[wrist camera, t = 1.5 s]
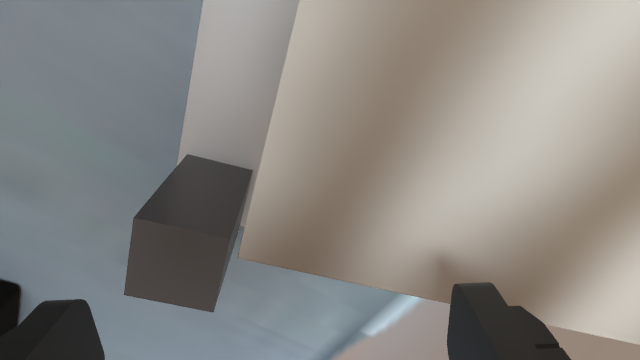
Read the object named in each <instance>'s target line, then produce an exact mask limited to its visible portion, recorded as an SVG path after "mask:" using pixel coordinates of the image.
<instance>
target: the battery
mask: <svg viewBox="0 0 640 360" xmlns="http://www.w3.org/2000/svg"><path fill="white" fill-rule="evenodd" d="M18 298H19V289H18V287H17V286H15V285H11V284H7V283H3V282H0V337H1V336H2V335H4V334H5V333H7V332H8V331H10V330H11V329H13V328H14V327H16V321H17V309H18Z"/></svg>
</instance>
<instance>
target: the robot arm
mask: <svg viewBox="0 0 640 360" xmlns="http://www.w3.org/2000/svg"><path fill="white" fill-rule="evenodd" d="M447 347H448V355H449V360H571V359H570V358H569V356H568V355H567V354H566V352H565V351H564V350H563V349H562V348H560V347H559V343H558V342H557V340H556V339H555V338H554V336H553V335H552V334H551V333H550V331H549V330H548V329H547V327H546V326H545V324H544V323H543V322H542V321H540V320H539V319H538V318H536V317H535V316H534V315H532V314H531V313H530V312H528V311H527V310H525V309H524V308H523V307H521V306H508V305H507V303H506V302H505V300H504V299H503V297H502V296H501V294H500V293H499V291H498V290H497V289H496V287H495V286H494V285H493V284H492V283H491V282H481V283H459V284H454V286H453V289H452V295H451V305H450V315H449V325H448V335H447ZM0 360H105V357H104V351H103V348H102V345H101V342H100V338H99V335H98V332H97V329H96V326H95V323H94V320H93V316H92V313H91V310H90V307H89V305H88V303H87V302H86V301H85V300H82V299H76V300H54V301H44V302H42V303H41V304H39V305H38V306H37V307H36V308H35V309H34V310H33V311H32V312H31V313H30V314H29V315H28V317H27V318H26V319H25V320H24V321H23V322H22V323H21V324H20V325H19V326H18V327H14V328H13V329H11V330H10V331H8V332H7V333H5V334H4V335H2V336H1V337H0Z"/></svg>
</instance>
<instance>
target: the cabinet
mask: <svg viewBox="0 0 640 360" xmlns="http://www.w3.org/2000/svg"><path fill="white" fill-rule="evenodd" d="M238 258H239V259H244V260H249V261H253V262H258V263H263V264H267V265H272V266H277V267H281V268H286V269H291V270H295V271H300V272H305V273H309V274H314V275H318V276H323V277H328V278H332V279H337V280H342V281H346V282H351V283H356V284H360V285H365V286H370V287H374V288H379V289H383V290H388V291H393V292H397V293H402V294H407V295H411V296H416V297H421V298H425V299H430V300H435V301H439V302H444V303H448V304H451V295H452V289H453V286H454V284H459V283H481V282H491V283H492V284H493V285H494V286H495V287H496V289H497V290H498V291H499V293H500V294H501V296H502V297H503V299H504V300H505V302H506V303H507V305H508V306H521V307H523V308H524V309H525V310H527V311H528V312H530V313H531V314H532V315H534V316H535V317H536V318H538V319H539V320H540V321H542V322H543V323H544V324H546V325H551V326H555V327H560V328H565V329H569V330H574V331H579V332H583V333H588V334H592V335H597V336H602V337H606V338H611V339H616V340H620V341H625V342H630V343H635V344H639V345H640V0H300V1H299V5H298V9H297V13H296V18H295V22H294V26H293V30H292V34H291V38H290V42H289V47H288V51H287V55H286V59H285V63H284V67H283V71H282V76H281V80H280V84H279V88H278V92H277V96H276V100H275V105H274V109H273V113H272V117H271V121H270V125H269V129H268V134H267V138H266V142H265V146H264V150H263V154H262V158H261V163H260V167H259V171H258V175H257V179H256V183H255V187H254V192H253V196H252V200H251V204H250V208H249V212H248V216H247V221H246V225H245V229H244V233H243V237H242V241H241V246H240V250H239V254H238Z"/></svg>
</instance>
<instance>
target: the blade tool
mask: <svg viewBox="0 0 640 360" xmlns="http://www.w3.org/2000/svg"><path fill="white" fill-rule="evenodd" d="M299 1H300V0H203V5H202V11H201V17H200V23H199V30H198V36H197V42H196V48H195V55H194V61H193V67H192V73H191V80H190V86H189V92H188V98H187V104H186V111H185V117H184V123H183V129H182V136H181V142H180V148H179V154H178V160H177V167H176V168H175V169H174V170H173V172H172V173H171V174H170V175H169V176H168V178H167V179H166V180H165V181H164V182H163V183H162V185H161V186H160V187H159V188H158V189H157V191H156V192H155V193H154V194H153V195H152V197H151V198H150V199H149V200H148V201H147V203H146V204H145V205H144V206H143V207H142V208H141V210H140V211H139V212H138V213H137V214H136V216H135V217H134V219H133V227H132V235H131V243H130V251H129V259H128V267H127V275H126V283H125V291H124V295H127V296H132V297H137V298H142V299H147V300H153V301H158V302H163V303H168V304H173V305H178V306H183V307H188V308H193V309H199V310H204V311H209V312H214V309H215V306H216V302H217V299H218V296H219V293H220V289H221V286H222V283H223V279H224V276H225V273H226V270H227V266H228V263H229V260H230V257H231V253H232V250H233V247H234V244H235V240H236V237H237V234H238V231H239V227H240V226H242V227H245V225H246V221H247V216H248V212H249V208H250V204H251V200H252V196H253V192H254V187H255V183H256V179H257V175H258V171H259V167H260V163H261V158H262V154H263V150H264V146H265V142H266V138H267V134H268V129H269V125H270V121H271V117H272V113H273V109H274V105H275V100H276V96H277V92H278V88H279V84H280V80H281V76H282V71H283V67H284V63H285V59H286V55H287V51H288V47H289V42H290V38H291V34H292V30H293V26H294V22H295V18H296V13H297V9H298V5H299Z"/></svg>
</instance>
